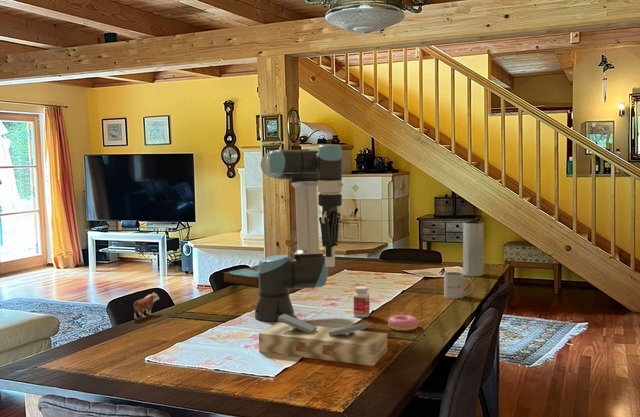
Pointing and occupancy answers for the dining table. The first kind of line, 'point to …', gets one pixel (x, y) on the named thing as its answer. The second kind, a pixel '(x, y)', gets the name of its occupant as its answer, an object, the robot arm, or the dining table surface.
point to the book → (243, 277)
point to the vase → (473, 248)
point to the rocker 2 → (348, 329)
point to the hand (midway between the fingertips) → (330, 266)
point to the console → (324, 344)
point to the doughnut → (403, 322)
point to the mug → (455, 285)
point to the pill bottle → (361, 302)
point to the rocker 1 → (297, 323)
